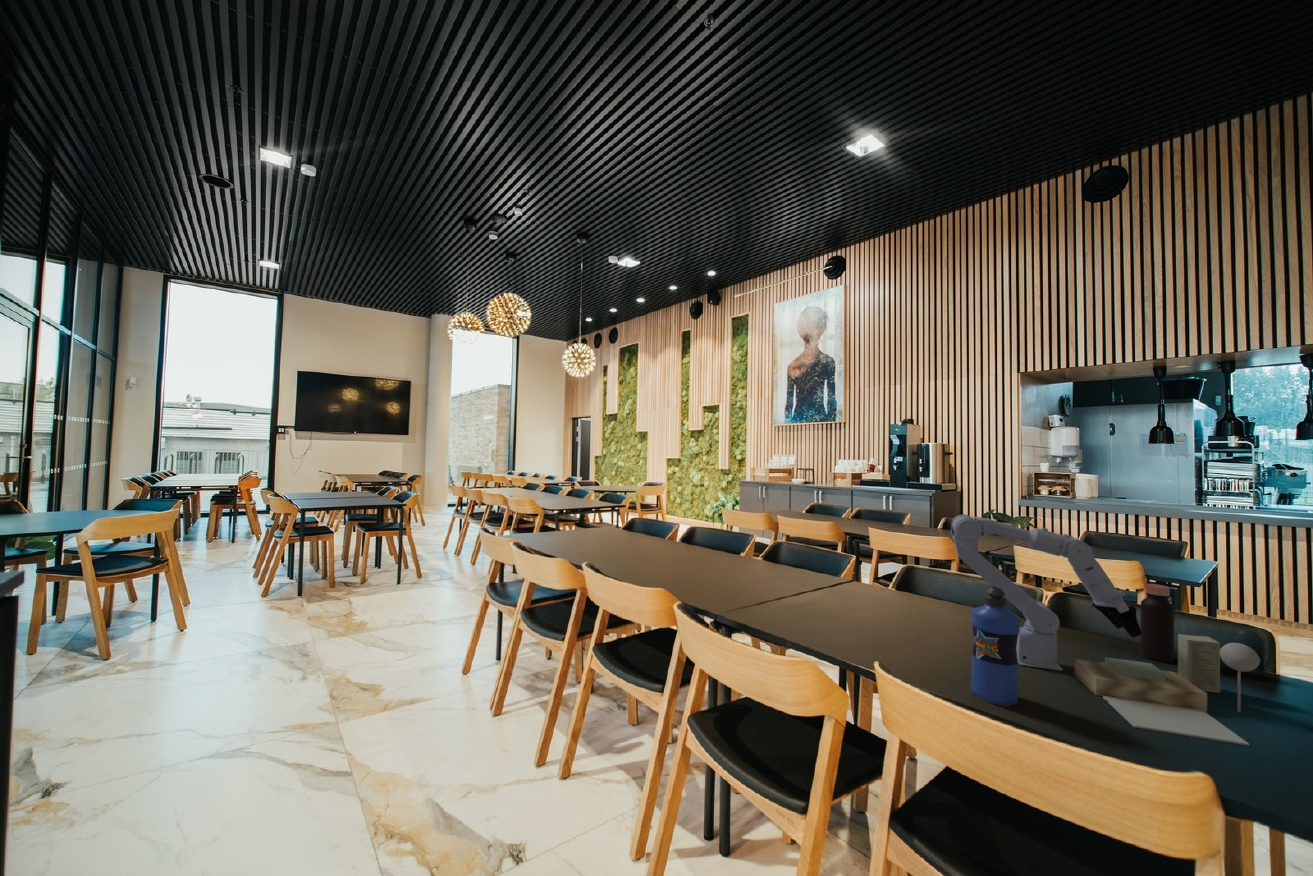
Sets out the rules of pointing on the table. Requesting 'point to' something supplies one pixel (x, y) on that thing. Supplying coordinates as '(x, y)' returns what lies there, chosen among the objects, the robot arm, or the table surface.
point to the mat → (1173, 720)
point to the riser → (1141, 686)
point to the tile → (1134, 669)
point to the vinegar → (1157, 624)
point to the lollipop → (1239, 662)
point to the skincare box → (1199, 661)
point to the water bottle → (995, 650)
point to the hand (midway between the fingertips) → (1129, 631)
